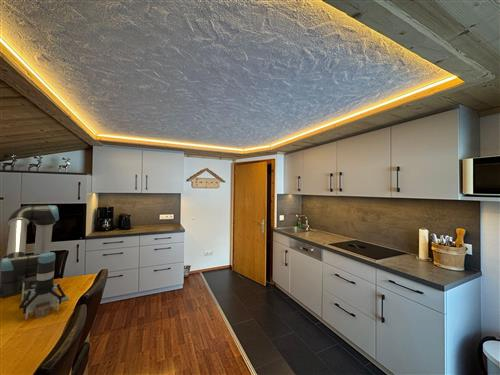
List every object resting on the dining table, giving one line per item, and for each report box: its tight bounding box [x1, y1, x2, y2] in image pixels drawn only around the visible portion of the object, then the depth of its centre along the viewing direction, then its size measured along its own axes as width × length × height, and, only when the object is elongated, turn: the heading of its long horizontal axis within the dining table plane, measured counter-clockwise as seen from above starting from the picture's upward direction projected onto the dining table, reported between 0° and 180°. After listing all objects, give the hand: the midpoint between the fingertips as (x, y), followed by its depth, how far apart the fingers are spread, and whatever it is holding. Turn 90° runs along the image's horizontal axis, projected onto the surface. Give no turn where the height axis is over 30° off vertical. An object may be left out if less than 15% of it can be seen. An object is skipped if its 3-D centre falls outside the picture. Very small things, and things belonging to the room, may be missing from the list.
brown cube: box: [34, 301, 51, 319], centre depth 123 cm, size 6×6×6 cm
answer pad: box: [55, 294, 69, 304], centre depth 139 cm, size 8×8×1 cm
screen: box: [28, 287, 57, 315], centre depth 128 cm, size 5×12×12 cm, turn 138°
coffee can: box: [20, 274, 37, 303], centre depth 139 cm, size 10×10×14 cm
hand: (42, 313), depth 123 cm, fingers open, 12 cm apart
